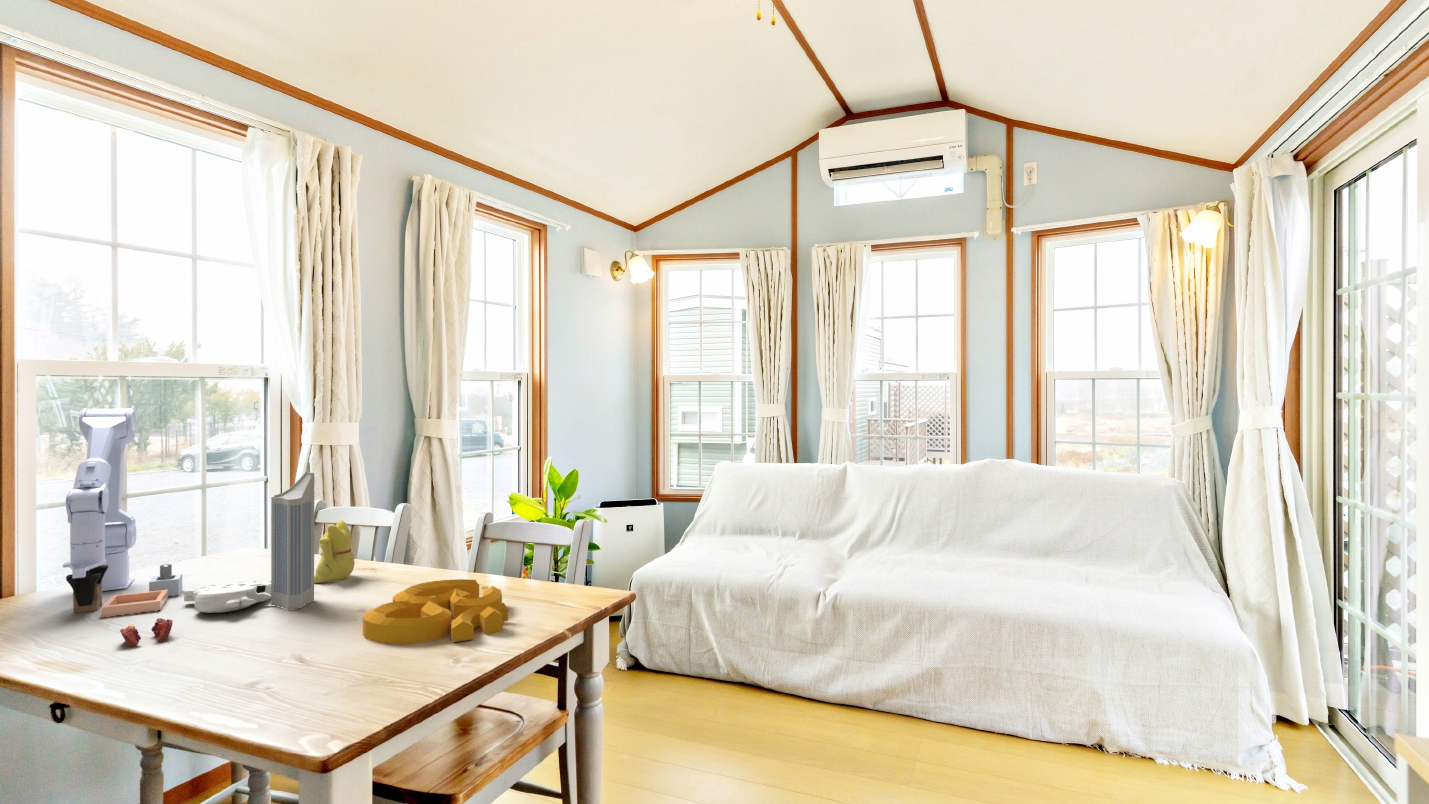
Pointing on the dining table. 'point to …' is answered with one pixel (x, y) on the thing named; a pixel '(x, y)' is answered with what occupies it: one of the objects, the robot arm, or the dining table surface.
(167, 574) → the pin
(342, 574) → the figurine
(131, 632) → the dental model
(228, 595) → the toy
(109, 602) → the tray
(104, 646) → the dining table surface
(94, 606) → the walnut block
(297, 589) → the building model
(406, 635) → the decorative symbol
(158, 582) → the slate block
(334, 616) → the dining table surface
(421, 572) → the dining table surface
